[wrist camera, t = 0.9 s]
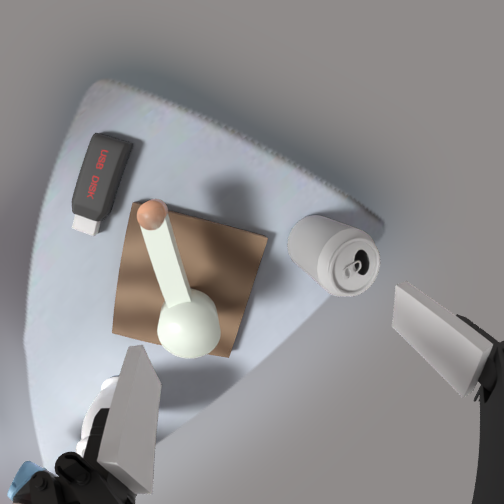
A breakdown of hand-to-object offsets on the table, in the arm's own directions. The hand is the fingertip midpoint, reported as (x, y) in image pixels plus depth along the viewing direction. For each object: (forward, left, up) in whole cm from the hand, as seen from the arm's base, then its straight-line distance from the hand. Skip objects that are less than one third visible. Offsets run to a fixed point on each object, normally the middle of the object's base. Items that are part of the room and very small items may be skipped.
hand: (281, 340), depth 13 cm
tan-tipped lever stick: (-4, +5, -18) cm, 19 cm away
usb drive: (+3, +17, -24) cm, 30 cm away
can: (+2, -11, -24) cm, 26 cm away
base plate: (-8, +4, -24) cm, 25 cm away
